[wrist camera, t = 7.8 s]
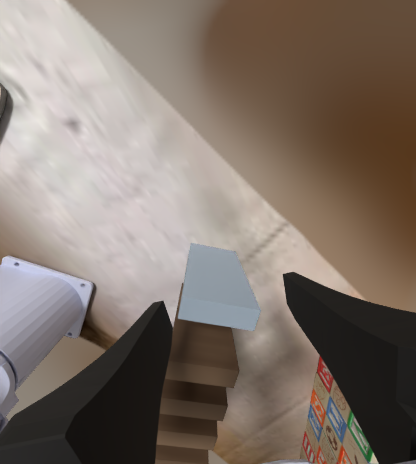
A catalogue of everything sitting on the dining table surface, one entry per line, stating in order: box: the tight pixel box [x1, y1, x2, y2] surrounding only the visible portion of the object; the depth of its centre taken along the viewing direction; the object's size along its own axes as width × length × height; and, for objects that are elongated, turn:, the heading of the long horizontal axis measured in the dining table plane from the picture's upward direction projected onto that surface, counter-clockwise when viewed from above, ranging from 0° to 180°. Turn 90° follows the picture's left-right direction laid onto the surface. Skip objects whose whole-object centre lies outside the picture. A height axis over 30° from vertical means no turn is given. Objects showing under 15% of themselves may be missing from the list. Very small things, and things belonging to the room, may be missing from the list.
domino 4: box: [165, 283, 239, 388], centre depth 19 cm, size 2×5×10 cm, turn 78°
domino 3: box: [160, 312, 228, 421], centre depth 19 cm, size 2×5×10 cm, turn 78°
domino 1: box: [155, 444, 208, 464], centre depth 21 cm, size 2×5×10 cm, turn 78°
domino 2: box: [157, 414, 218, 450], centre depth 20 cm, size 2×5×10 cm, turn 78°
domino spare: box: [178, 243, 261, 331], centre depth 17 cm, size 2×5×10 cm, turn 78°
